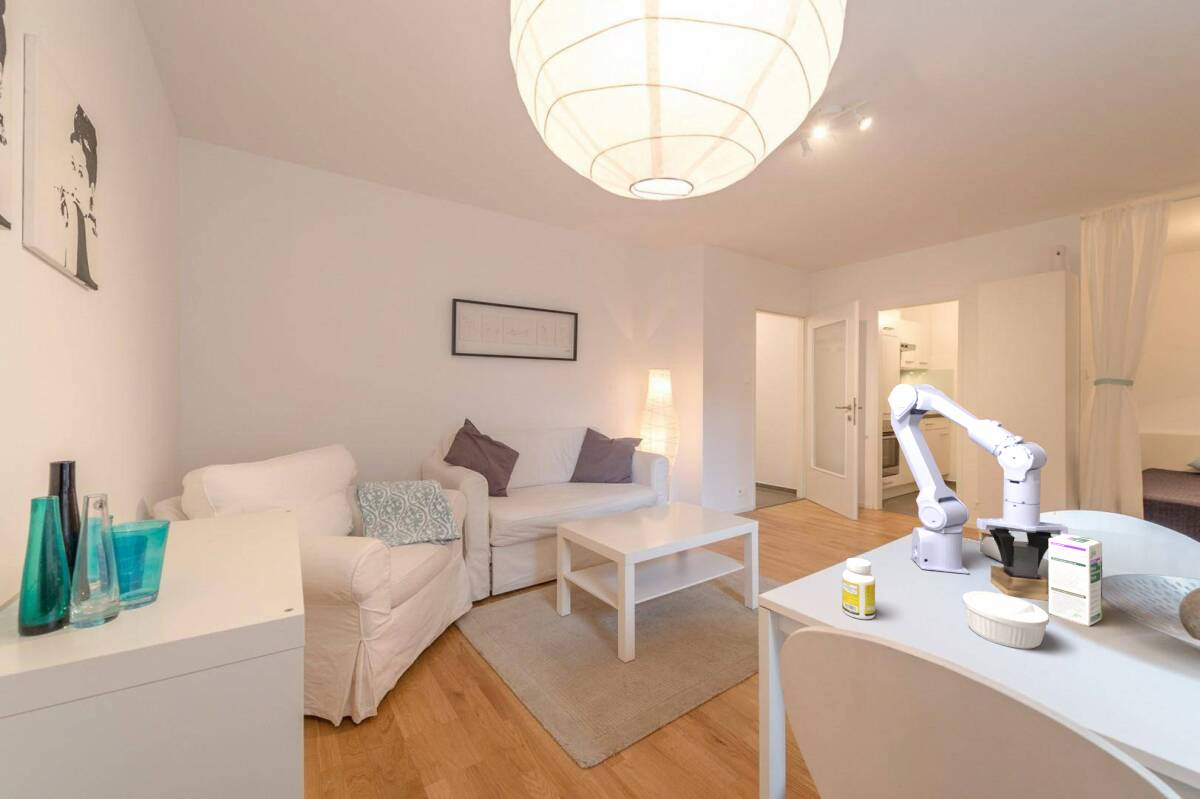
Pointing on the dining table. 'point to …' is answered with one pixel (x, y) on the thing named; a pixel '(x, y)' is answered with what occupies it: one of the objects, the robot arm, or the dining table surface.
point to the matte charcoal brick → (1023, 561)
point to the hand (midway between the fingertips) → (1019, 566)
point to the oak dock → (1020, 585)
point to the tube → (992, 550)
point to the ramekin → (1005, 619)
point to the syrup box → (1075, 579)
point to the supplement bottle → (858, 589)
